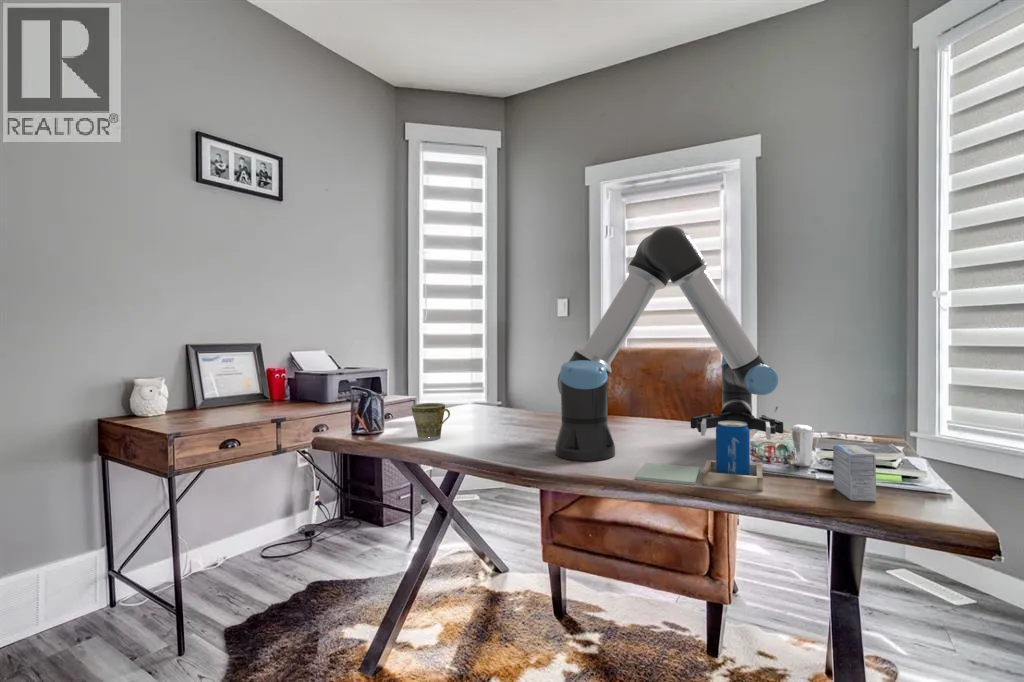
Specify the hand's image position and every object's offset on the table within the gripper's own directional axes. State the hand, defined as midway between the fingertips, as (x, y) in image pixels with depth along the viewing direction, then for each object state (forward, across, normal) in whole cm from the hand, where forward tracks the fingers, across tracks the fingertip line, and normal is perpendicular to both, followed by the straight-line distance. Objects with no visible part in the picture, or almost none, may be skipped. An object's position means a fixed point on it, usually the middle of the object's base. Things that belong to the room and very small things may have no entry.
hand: (734, 431), depth 119 cm
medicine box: (+12, -21, -9) cm, 25 cm away
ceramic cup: (-6, +83, -9) cm, 84 cm away
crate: (+9, 0, -8) cm, 12 cm away
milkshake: (-8, -14, -9) cm, 19 cm away
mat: (+9, +13, -8) cm, 18 cm away
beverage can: (+9, 0, -9) cm, 13 cm away
